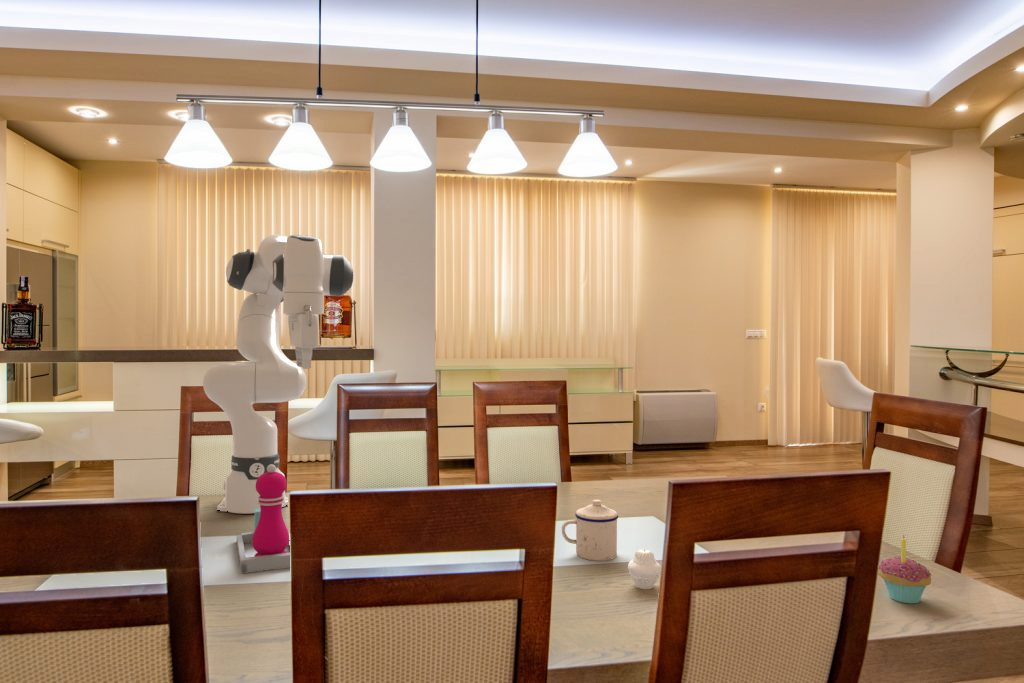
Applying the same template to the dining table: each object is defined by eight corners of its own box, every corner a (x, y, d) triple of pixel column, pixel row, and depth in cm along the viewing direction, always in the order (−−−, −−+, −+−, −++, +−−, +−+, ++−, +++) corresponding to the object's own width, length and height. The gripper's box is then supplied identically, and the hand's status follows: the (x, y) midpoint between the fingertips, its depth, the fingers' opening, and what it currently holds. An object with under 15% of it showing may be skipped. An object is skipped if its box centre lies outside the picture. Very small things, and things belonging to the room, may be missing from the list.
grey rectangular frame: (236, 541, 152) (236, 510, 152) (290, 536, 157) (290, 505, 157) (241, 573, 132) (241, 537, 132) (302, 565, 137) (302, 531, 137)
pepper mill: (276, 569, 134) (277, 468, 134) (244, 566, 136) (244, 466, 136) (296, 558, 141) (296, 462, 141) (265, 555, 143) (265, 460, 143)
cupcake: (930, 611, 117) (931, 542, 117) (874, 601, 121) (875, 534, 121) (931, 595, 124) (932, 530, 124) (878, 586, 129) (879, 523, 129)
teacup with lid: (615, 548, 150) (615, 495, 150) (620, 562, 141) (620, 506, 141) (560, 547, 150) (561, 494, 150) (562, 560, 141) (562, 505, 141)
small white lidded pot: (620, 584, 128) (621, 547, 128) (642, 578, 132) (643, 542, 132) (645, 595, 123) (646, 556, 123) (667, 587, 127) (668, 550, 127)
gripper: (325, 305, 145) (325, 369, 146) (312, 308, 164) (311, 365, 164) (294, 304, 143) (294, 370, 143) (284, 307, 161) (284, 365, 162)
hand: (303, 367), depth 154 cm, fingers open, 8 cm apart
